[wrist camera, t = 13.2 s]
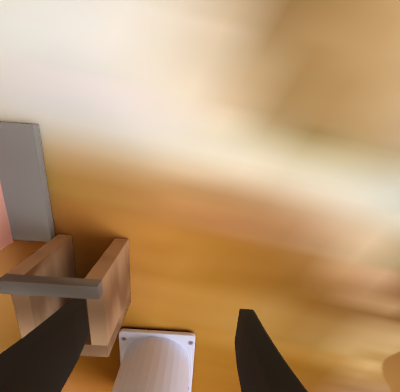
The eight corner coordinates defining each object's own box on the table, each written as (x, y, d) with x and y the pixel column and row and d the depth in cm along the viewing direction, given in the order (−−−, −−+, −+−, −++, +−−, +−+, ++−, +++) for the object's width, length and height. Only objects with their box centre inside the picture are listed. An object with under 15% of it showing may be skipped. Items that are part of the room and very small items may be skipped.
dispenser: (130, 301, 22) (104, 366, 16) (67, 298, 22) (18, 361, 16) (128, 238, 20) (97, 286, 14) (58, 234, 20) (-4, 280, 14)
